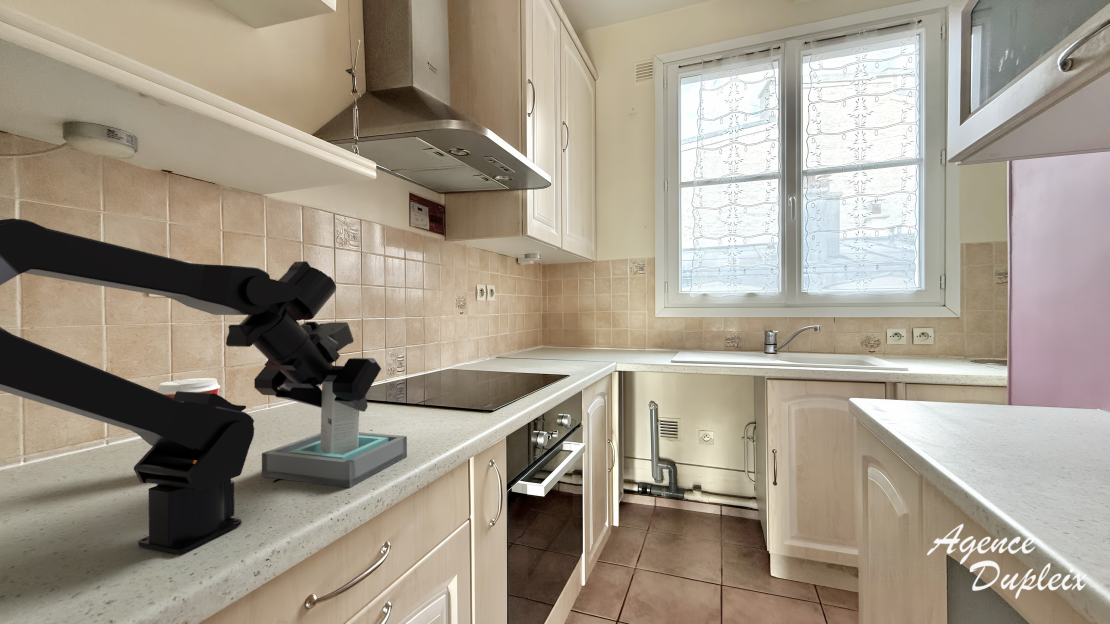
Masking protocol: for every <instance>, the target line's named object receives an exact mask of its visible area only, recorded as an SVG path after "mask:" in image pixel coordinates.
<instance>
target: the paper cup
mask: <svg viewBox="0 0 1110 624" xmlns="http://www.w3.org/2000/svg"><path fill="white" fill-rule="evenodd" d="M220 388H221V385H220V384H218V380H217V378H215V377H214V378H213V377H212V378H211V377H203V378H202V377H201V378H198V377H197V378H196V377H195V378H186V379H177V380H171V381H164V382H161V383H159V385H158V390H155V391H156V392H159V393H161V394H164V395H166V396H169V397H171V398H174V396H175V393H176V392H177V391H185V392H201V393H215V394H217V395H219V393H218V391H219V389H220ZM196 462H197V460H194V462H193V464H195V463H196Z"/></svg>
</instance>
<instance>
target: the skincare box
mask: <svg viewBox="0 0 1110 624" xmlns="http://www.w3.org/2000/svg"><path fill="white" fill-rule="evenodd" d="M321 390H322V407H321V408H320V410H321V413H320V418H321V420H320V433H321V444H320V447H321V450H322V451H323V452H324V453H330V454H340V455H343V454H346V453H348V452H350V451H353V450H355V449H357V448H358V437H359V431H360V429H359V428H360V411H359V410H357V409H354V408H352V407H349V406H347V405H344V404H341V403H339V402H337V401H334V399H335V398H336V395H335V394H334V393H333V392H332V382H326V381H323V383H322V384H321Z"/></svg>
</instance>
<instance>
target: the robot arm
mask: <svg viewBox="0 0 1110 624" xmlns="http://www.w3.org/2000/svg"><path fill="white" fill-rule="evenodd" d="M21 274H26V275H27V274H28V275H33V276H39V277H44V278H45V277H46V278H52V279H57V280H63V281H64V280H65V281H71V282H77V283H82V284H88V285H95V286H99V287H107V288H113V289H118V290H123V291H124V290H125V291H126V290H127V291H131V292H136V293H137V292H138V293H143V294H147V295H149V294H150V295H154V296H161V297H165V298H168V299H171V300H174V301H177V302H178V303H180V304H182V305H184V306H186V307H188V308H191V309H195V310H198V311H201V312H204V313H207V314H211V315H215V316H246V317H245V318H244V319H243V320H242V321H240V323H239V324H229V325H228V333H227V335H226V341H225V345H226V346H227V347H231V348H232V347H238V348H239V347H240V348H244V347H245V348H246V347H247V348H250V347H252V345H253V346H254V348H256V349H257V350H258V351H259V352H260V353H261V354H262V355H264V357H265V358H266V359H267V361H266V362H265V363H264V364H263V365H264V367H263V368H262V369H261V371H260V372H259V373H258V374H257V375H256V377H255V378H254V381H253V382H254V387H253V388H254V389H255V390H257V391H258V392H259V393H260V394H261V395H262V396H275V398H280V399H284V400H288V401H292V402H296V403H301V404H304V405H309V406H312V407H316V408H320V409H321V407H322V388H320V386H322V383H323V381H326V382H332V392H333V393H334V394H335V395H336V398H335V399H334V401H337V402H339V403H341V404H344V405H347V406H349V407H352V408H354V409H357V410H359V412H366V410H367V408H368V401H367V397H366V396H367V394H368V392H369V390H370V389H371V387H372V385H373V383H374V382H375V381H376V379H377V377H378V375H380V372H381V370H382V367H381V365H380V364H379V362H377V360H376V359H375V358H374V357H351V358H348V359H347V361H346V362H345V363H344V365H333V363H334V362H335V363H336V362H337V361H338V359H340V357H341V355H340V353H339V351H341V350H343V348H345V347H347V346H348V345H349V344H350V345H351V344H353V343H354V342H355V339H354V337H353V334H352V330H351V328H350V325H349V322H344V321H343V322H340V321H339V322H336V321H335V322H332V321H331V322H326V323H319V324H318V322H316V321H309V320H312V319H314V318H315V316H316V315H317V314H318V313H319V312H320V310H321V309H322V308H323V307H324V306H325V305H326V304H327V302H328V301H329V299H330V298H331V297H332V296H333V295H334V294H335V293H336V290H337V285H336V283H335V281H334V280H333V278H332V277H331V276H328V274H326V273H324V271H321V270H320V269H317V268H315V267H312V266H311V265H310V264H309V263H308V261H307V260H304V261H294V262H293V263H292V264H291V265H290V267H289V268H288V270H287V271H286V272H285V273H284V274H283V275H282V276H281V277H280V278H279V279H278V280H277V279H272V278H271V277H270V274H269V273H268V272H267V271H266V270H264V269H261V268H258V267H251V266H242V265H239V266H238V265H231V264H230V265H227V264H225V265H223V264H209V263H207V264H205V263H193V262H187V261H183V260H179V259H176V258H172V257H171V258H170V257H167V256H163V255H159V254H155V253H151V252H146V251H143V250H142V251H141V250H140V249H139V250H138V249H134V248H129V247H125V246H121V245H118V244H113V243H110V242H109V243H108V242H105V241H101V240H96V239H93V238H88V237H84V236H80V235H75V234H72V233H69V232H64V231H61V230H60V231H59V230H56V229H51V228H47V227H45V226H42V225H40V224H38V223H36V222H34V221H31V220H27V219H20V218H6V219H4V218H3V219H0V286H2V285H4V284H6V283H7V282H8V281H10V280H12V279H14V278H16V277H17V276H19V275H21ZM301 320H302V321H305V322H303V323H302V324H300V323H299V321H301ZM0 391H1V392H4V393H8V394H11V395H14V396H17V397H21V398H23V399H27V400H30V401H33V402H37V403H39V404H44V405H46V406H49V407H52V408H53V407H54V408H55V409H56V408H57V409H59V410H62V411H67V412H69V413H73V414H76V415H79V416H83V417H86V418H89V419H92V420H95V421H98V422H101V423H104V424H109V425H112V426H115V427H118V428H121V429H124V430H128V431H130V432H133V433H135V434H136V435H138V436H139V437H140V438H141V439H142V440H144V441H145V442H146V443H147V444H148V445H150V446H151V448H150V449H149V450H147V452H146V453H145V454H144V455H143V456H142V457H141V458H140V460H139V461H138V462H137V463H136V464H135V465H134V466H133V471H134V473H135V474H136V478H138V480H139V482H140V483H141V484H155V485H154V486H153V487H149V488H147V489H148V536H145V537H142V538H141V539H139V540H137V546H139V547H143V548H146V549H152V550H156V551H162V552H166V553H171V554H176V555H180V554H184V553H186V552H188V551H190V550H192V549H194V548H196V547H198V546H200V545H202V544H204V543H206V542H209V541H210V540H213V539H214V538H216V537H219V536H220V535H223V534H225V533H227V532H229V531H231V530H233V529H235V528H237V527H239V526H241V525H242V519H240V518H237V517H235V518H234V516H235V511H236V510H235V481H233V480H232V479H234V478H237V477H239V476H241V474H242V473H243V469H244V466H245V462H246V460H247V457H248V454H249V450H250V447H251V444H252V442H253V439H254V435H255V426H254V422H255V420H254V419H253V418H254V417H252V415H250V414H248V413H247V412H244V410H245V409H247V406H246V405H241V404H233V403H232V402H230V401H228V400H227V399H225V398H224V397H222V396H221V395H219V394H215V393H201V392H185V391H177V392H176V393H175V396H174V398H171V397H169V396H166V395H164V394H161V393H159V392H156V391H157V390H154V389H151V388H148V387H145V386H144V385H140V384H138V383H136V382H133V381H131V380H128V379H126V378H123V377H120V376H118V375H116V374H113V373H111V372H108V371H106V370H103V369H100V368H99V367H96V366H93V365H90V364H89V363H85V362H83V361H80V360H78V359H76V358H73V357H71V356H68V355H65V354H63V353H60V352H58V351H55V350H53V349H50V348H47V347H45V346H42V345H40V344H37V343H35V342H32V341H30V340H28V339H26V338H23V337H20V336H17V335H15V334H13V333H11V332H9V331H7V330H6V329H5V328H2V327H1V326H0ZM194 460H197V462H196V463H195V464H193V462H194Z"/></svg>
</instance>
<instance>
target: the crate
mask: <svg viewBox="0 0 1110 624" xmlns="http://www.w3.org/2000/svg"><path fill="white" fill-rule="evenodd" d="M407 440H408V439H407V436H406V435H397V434H396V435H395V434H385V433H375V432H374V433H373V432H362V431H361V432H359V437H358V448H357V449H355V450H353V451H350V452H348V453H346V454H343V455H340V454H330V453H324V452H323V451H322V450H321V447H320V444H321V432H320V433H316V434H313V435H311V436H308V437H305V438H302V439H299V440H296V441H292V442H290V443H287V444H285V445H282V446H278V447H276V448H273V449H270V450H267V451H263V452H261V477H264V478H272V479H277V480H278V479H279V480H287V481H293V482H294V481H295V482H296V481H297V482H302V483H310V484H316V485H317V484H318V485H324V486H325V485H326V486H331V487H333V486H334V487H340V488H341V487H342V488H349V489H350V488H352V487H354V486H356V485H357V484H359V483H361V482H364V481H365V480H366V479H368V478H370V477H372V476H375V475H376V474H378V473H380V472H381V471H383V470H385V469H387V468H389V467H391V466H392V465H395V464H397V463H398V462H400V461H402V460H404V459H406V458H407V457H408V441H407Z"/></svg>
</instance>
